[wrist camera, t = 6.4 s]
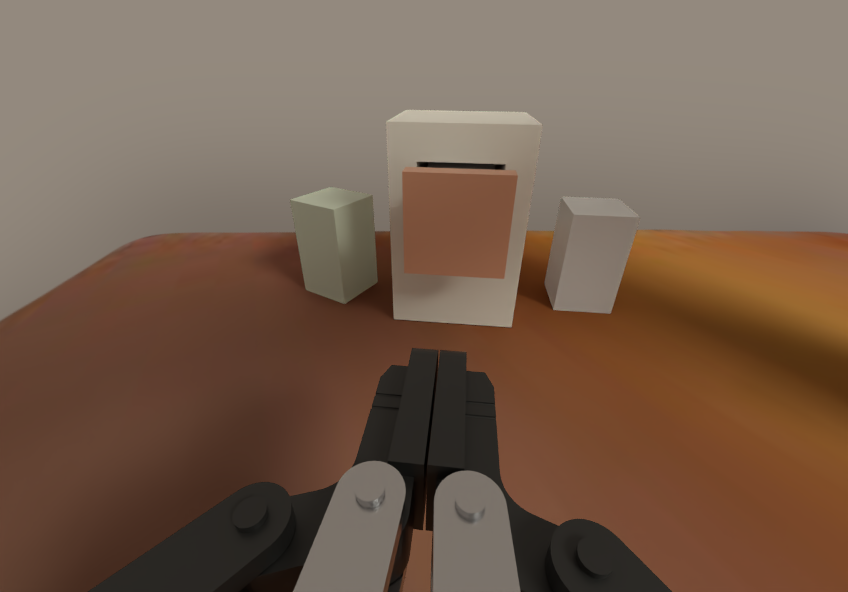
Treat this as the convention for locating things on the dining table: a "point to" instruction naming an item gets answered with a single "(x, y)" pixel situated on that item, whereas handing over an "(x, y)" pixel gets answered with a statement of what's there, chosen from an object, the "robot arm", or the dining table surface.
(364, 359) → the dining table surface
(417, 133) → the cream box with panel
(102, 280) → the dining table surface
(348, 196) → the sage block
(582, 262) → the grey block
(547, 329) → the dining table surface
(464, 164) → the button
